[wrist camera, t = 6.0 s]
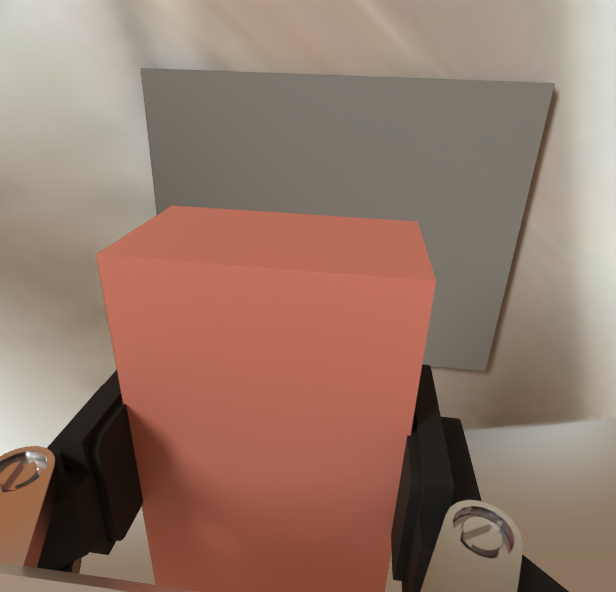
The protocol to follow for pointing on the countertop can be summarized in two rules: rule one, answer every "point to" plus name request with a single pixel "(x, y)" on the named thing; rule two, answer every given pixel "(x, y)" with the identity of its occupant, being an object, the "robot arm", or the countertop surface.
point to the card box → (269, 391)
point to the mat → (365, 168)
